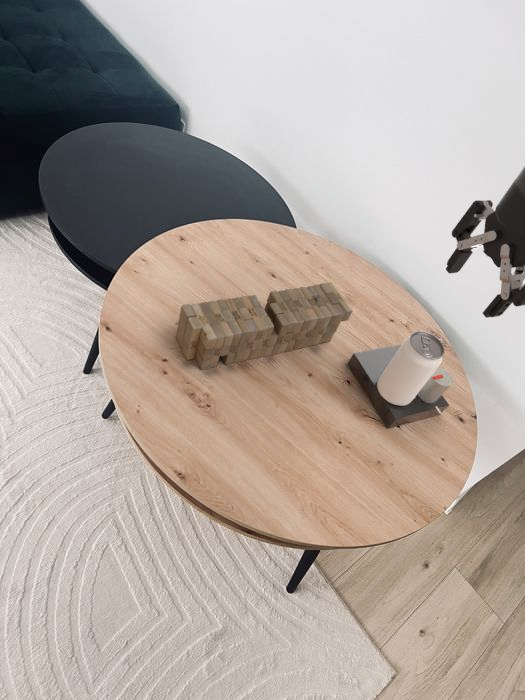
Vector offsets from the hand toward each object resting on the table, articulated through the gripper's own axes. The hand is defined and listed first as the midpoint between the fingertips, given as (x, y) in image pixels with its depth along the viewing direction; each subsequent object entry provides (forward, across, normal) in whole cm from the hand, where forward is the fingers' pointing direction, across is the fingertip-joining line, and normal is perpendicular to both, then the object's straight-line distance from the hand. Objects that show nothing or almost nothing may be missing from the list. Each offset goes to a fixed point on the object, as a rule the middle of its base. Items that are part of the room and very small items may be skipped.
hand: (469, 292), depth 73 cm
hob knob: (+23, +2, +6) cm, 24 cm away
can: (+23, 0, 0) cm, 23 cm away
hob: (+26, -2, +3) cm, 26 cm away
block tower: (+26, -17, -17) cm, 36 cm away
